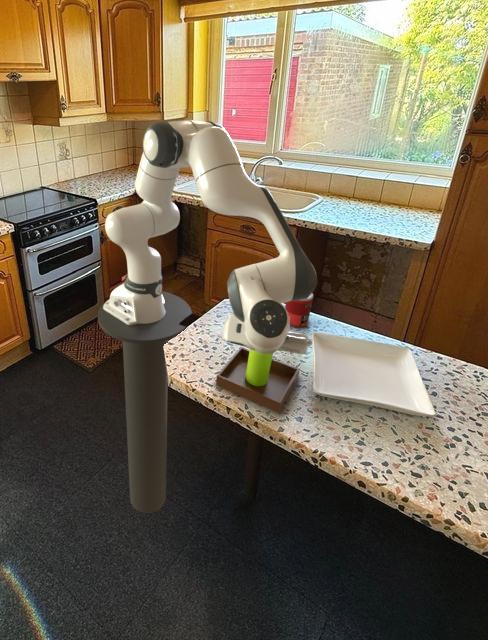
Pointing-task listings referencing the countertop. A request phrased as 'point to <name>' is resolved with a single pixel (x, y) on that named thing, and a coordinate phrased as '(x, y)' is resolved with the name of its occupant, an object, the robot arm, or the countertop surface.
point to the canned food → (299, 311)
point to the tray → (266, 395)
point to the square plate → (369, 374)
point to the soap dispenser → (258, 368)
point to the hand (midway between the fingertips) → (262, 343)
